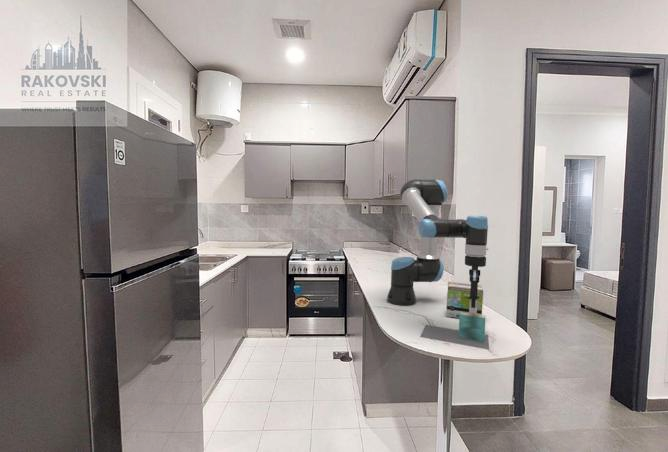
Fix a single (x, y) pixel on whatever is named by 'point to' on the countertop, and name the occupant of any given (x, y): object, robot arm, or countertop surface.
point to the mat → (452, 337)
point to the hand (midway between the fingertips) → (472, 314)
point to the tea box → (461, 299)
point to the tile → (472, 326)
